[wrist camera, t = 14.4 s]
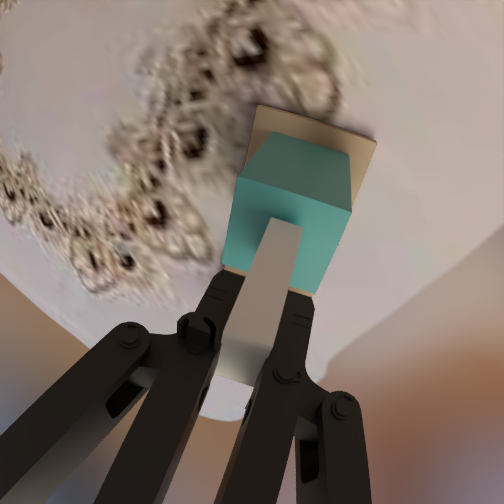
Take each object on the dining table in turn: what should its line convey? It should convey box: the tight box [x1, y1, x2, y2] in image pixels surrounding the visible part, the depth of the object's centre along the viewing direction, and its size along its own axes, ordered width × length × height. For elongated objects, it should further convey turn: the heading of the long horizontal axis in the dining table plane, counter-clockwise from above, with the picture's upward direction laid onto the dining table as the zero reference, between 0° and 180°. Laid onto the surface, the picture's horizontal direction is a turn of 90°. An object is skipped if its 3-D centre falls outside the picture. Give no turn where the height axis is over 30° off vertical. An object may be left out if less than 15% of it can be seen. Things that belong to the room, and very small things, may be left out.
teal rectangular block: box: [221, 131, 352, 294], centre depth 18 cm, size 5×5×8 cm
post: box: [244, 104, 377, 206], centre depth 19 cm, size 8×8×7 cm
